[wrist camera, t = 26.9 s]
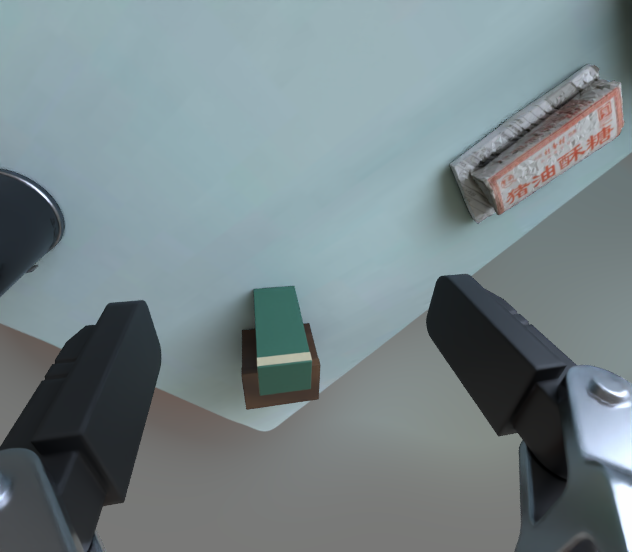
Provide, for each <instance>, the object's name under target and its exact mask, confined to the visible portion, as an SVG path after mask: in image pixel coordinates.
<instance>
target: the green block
mask: <svg viewBox="0 0 632 552" xmlns="http://www.w3.org/2000/svg"><path fill="white" fill-rule="evenodd" d="M254 310H255V330H256V350H257V371H258V382H259V394H260V396H262V395H269V394H277V393H284V392H292V391H300V390H307V389H311V372H312V358H311V354H310V351H309V347H308V342H307V338H306V334H305V330H304V325H303V321H302V317H301V312H300V308H299V304H298V300H297V295H296V291H295V287H294V286H288V287H275V288H261V289H254Z"/></svg>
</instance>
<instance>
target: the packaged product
mask: <svg viewBox="0 0 632 552" xmlns="http://www.w3.org/2000/svg"><path fill="white" fill-rule="evenodd" d="M622 106H623V99H622V93H621V82H616V81H615V80H613V81H610V82H609V81H607V80H604V79H599V68H598V67H597V66H595V65H590V64H587V65H585V66H584V67H583V68H581V69H580V70H579V71H577V72H576V73H575V74H573V75H572V76H571V77H569V78H568V79H566V80H565V81H564V82H562V83H561V84H559V85H558V86H556V87H555V88H553V89H552V90H550V91H549V92H547V93H546V94H544V95H543V96H541V97H540V98H538V99H537V100H535V101H534V102H532V103H531V104H529V105H528V106H526V107H525V108H523V109H522V110H520V111H519V112H517V113H516V114H514V115H513V116H512V117H511V118H509V119H508V120H507V121H506V122H504V123H503V124H502V125H501V126H499V127H498V128H497V129H496V130H494V131H493V132H492V133H490V134H489V135H488V136H486V137H485V138H484V139H482V140H481V141H480V142H478V143H477V144H476V145H474V146H473V147H472V148H470V149H469V150H468V151H466V152H465V153H464V154H462V155H461V156H460V157H459V158H457V159H456V160H455V161H453V162H452V163H451V164H450V166H451V169H452V171H453V173H454V176H455V178H456V181H457V183H458V185H459V188H460V190H461V193H462V195H463V197H464V200H465V202H466V205H467V207H468V210H469V212H470V214H471V216H472V218H473V219H474V221H475V222H476V223H477V224H479V223H480V222H481V221H483V220H484V219H486V218H487V217H489V216H491V215H493V214H494V213H495V212H496V213H497V215H500V214H502V213H503V212H505V211H506V210H508V209H510V208H511V207H513V206H514V205H516V204H517V203H519V202H520V201H522V200H523V199H525V198H526V197H528V196H530V195H531V194H532V193H534V192H535V191H537V190H538V189H540V188H541V187H543V186H544V185H546V184H547V183H549V182H550V181H552V180H553V179H555V178H556V177H558V176H559V175H561V174H562V173H564V172H565V171H567V170H568V169H570V168H571V167H573V166H574V165H576V164H577V163H579V162H580V161H582V160H583V159H585V158H587V157H588V156H589V155H591V154H592V153H594V152H595V151H597V150H599V149H600V148H602V147H603V146H605V145H606V144H608V143H610V142H611V141H613V140H614V139H615V138H616V137H617V136H618V135H619V134H620V132H621V128H622V127H623V126H624V120H623V112H622Z"/></svg>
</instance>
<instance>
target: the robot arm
mask: <svg viewBox="0 0 632 552" xmlns="http://www.w3.org/2000/svg"><path fill="white" fill-rule="evenodd" d="M64 227H65V224H64V218H63V214H62V212H61V210H60V208H59V206H58V204H57V203H56V201H55V200H54V199H53V198H52V196H51V195H50V194H49V193H48V192H47V191H46V190H45V189H43V188H42V187H41V186H40V185H38V184H37V183H35V182H34V181H32V180H30V179H29V178H27V177H25V176H23V175H20V174H18V173H15V172H12V171H9V170H5V169H0V297H1V296H2V295H3V294H4V293H5V292H6V291H7V290H8V289H9V288H10V287H11V286H12V285H13V284H15V283H16V282H17V281H18V280H19V279H20V278H21V277H22V276H23V275H24V274H25V273H28V272H32V271H33V270H34V269H35V268H36V267H37V266H38V265H35V266H33V265H34V264H35V263H36V262H37V261H38V260H40V259H41V258H42V257H43V256H44V255H45V254H46V253H48V252H49V251H50V250H51V249H53V248H54V247H55V246H56V245H57V244H58V243H59V241H60V240H61V238H62V236H63V233H64ZM426 324H427V330H428V333H429V336H430V337H431V339H432V340H433V342H434V343H435V345H436V346H437V348H438V349H439V351H440V352H441V354H442V355H443V356H444V358H445V359H446V361H447V362H448V364H449V365H450V367H451V368H452V370H453V371H454V372H455V374H456V375H457V377H458V378H459V380H460V381H461V383H462V384H463V386H464V387H465V388H466V390H467V391H468V393H469V394H470V396H471V397H472V398H473V400H474V401H475V403H476V404H477V406H478V407H479V409H480V410H481V412H482V413H483V415H484V416H485V417H486V419H487V420H488V422H489V423H490V425H491V426H492V428H493V429H494V431H495V432H496V433H497V435H498V436H503V435H508V434H514V433H518V434H519V435H520V437H521V438H522V439H523V441H522V442H521V444H520V447H519V474H520V507H521V508H520V509H521V529H520V535H519V539H518V542H517V545H516V548H515V552H632V384H631V383H630V382H628V381H627V380H625V379H623V378H622V377H620V376H618V375H616V374H614V373H612V372H610V371H608V370H605V369H602V368H599V367H595V366H590V365H576V364H575V363H574V362H573V361H572V360H571V359H569V358H568V357H567V356H566V355H565V354H564V353H563V352H562V351H561V350H559V349H558V348H557V347H556V346H555V345H554V344H553V343H552V342H551V341H549V340H548V339H547V338H546V337H545V336H544V335H543V334H542V333H541V332H539V331H538V330H537V329H536V328H535V327H534V326H533V325H529V323H528V321H527V320H526V319H525V318H524V317H523V316H522V315H520V314H517V311H516V310H515V309H514V308H513V307H512V306H511V305H509V304H508V303H507V302H506V301H505V300H504V299H502V298H501V297H499V296H497V295H495V294H493V293H491V292H490V291H488V290H486V289H484V288H483V287H482V286H481V285H480V284H479V283H478V282H477V281H476V280H475V279H473V278H472V277H471V276H470V275H468V274H459V275H447V276H440V277H439V278H438V280H437V281H436V285H435V288H434V292H433V296H432V299H431V303H430V306H429V310H428V314H427V319H426ZM160 366H161V348H160V343H159V340H158V337H157V334H156V331H155V328H154V324H153V321H152V318H151V315H150V312H149V309H148V306H147V304H146V302H145V301H143V300H139V301H127V302H115V303H109V304H108V305H107V306H106V307H105V309H104V311H103V313H102V315H101V316H100V318H99V320H98V322H97V323H96V325H89V326H85V327H84V328H83V329H81V330H80V331H79V332H78V333H77V334H75V335H74V336H73V337H72V338H71V339H69V340H68V341H67V342H66V343H65V345H64V347H63V348H62V350H61V351H60V353H59V355H58V356H57V358H56V359H55V364H52V366H51V367H50V369H49V370H48V372H47V374H46V375H45V380H44V381H41V383H40V385H39V386H38V388H37V389H36V391H35V392H34V394H33V396H32V398H31V399H30V400H29V402H28V404H27V405H26V407H25V408H24V410H23V411H22V413H21V415H20V416H19V418H18V419H17V421H16V423H15V424H14V426H13V427H12V429H11V430H10V432H9V434H8V435H7V437H6V438H5V440H4V442H3V443H2V445H1V446H0V552H106V549H105V547H104V545H103V542H102V540H101V538H100V536H99V534H98V532H97V530H96V525H97V522H98V520H99V516H100V513H101V510H102V507H103V506H106V505H112V504H118V503H123V502H124V500H125V497H126V493H127V489H128V486H129V482H130V478H131V475H132V471H133V467H134V463H135V459H136V456H137V452H138V449H139V445H140V441H141V437H142V433H143V430H144V426H145V422H146V419H147V415H148V412H149V408H150V404H151V400H152V397H153V393H154V389H155V386H156V382H157V378H158V375H159V371H160Z"/></svg>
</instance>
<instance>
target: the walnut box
mask: <svg viewBox="0 0 632 552" xmlns="http://www.w3.org/2000/svg"><path fill="white" fill-rule="evenodd" d="M303 325H304V330H305V334H306V338H307V342H308V347H309V351H310V354H311V358H312V372H311V389H307V390H300V391H292V392H284V393H277V394H269V395H262V396H260V394H259V382H258V371H257V350H256V330H255V329H249V330H242V371H241V375H242V382H243V389H244V396H245V403H246V410H248V409H255V408H261V407H268V406H275V405H282V404H289V403H296V402H303V401H310V400H317V399H319V381H320V362H319V358H318V356H317V352H316V348H315V344H314V340H313V336H312V332H311V329H310V325H309V323H307V324H303Z"/></svg>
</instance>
